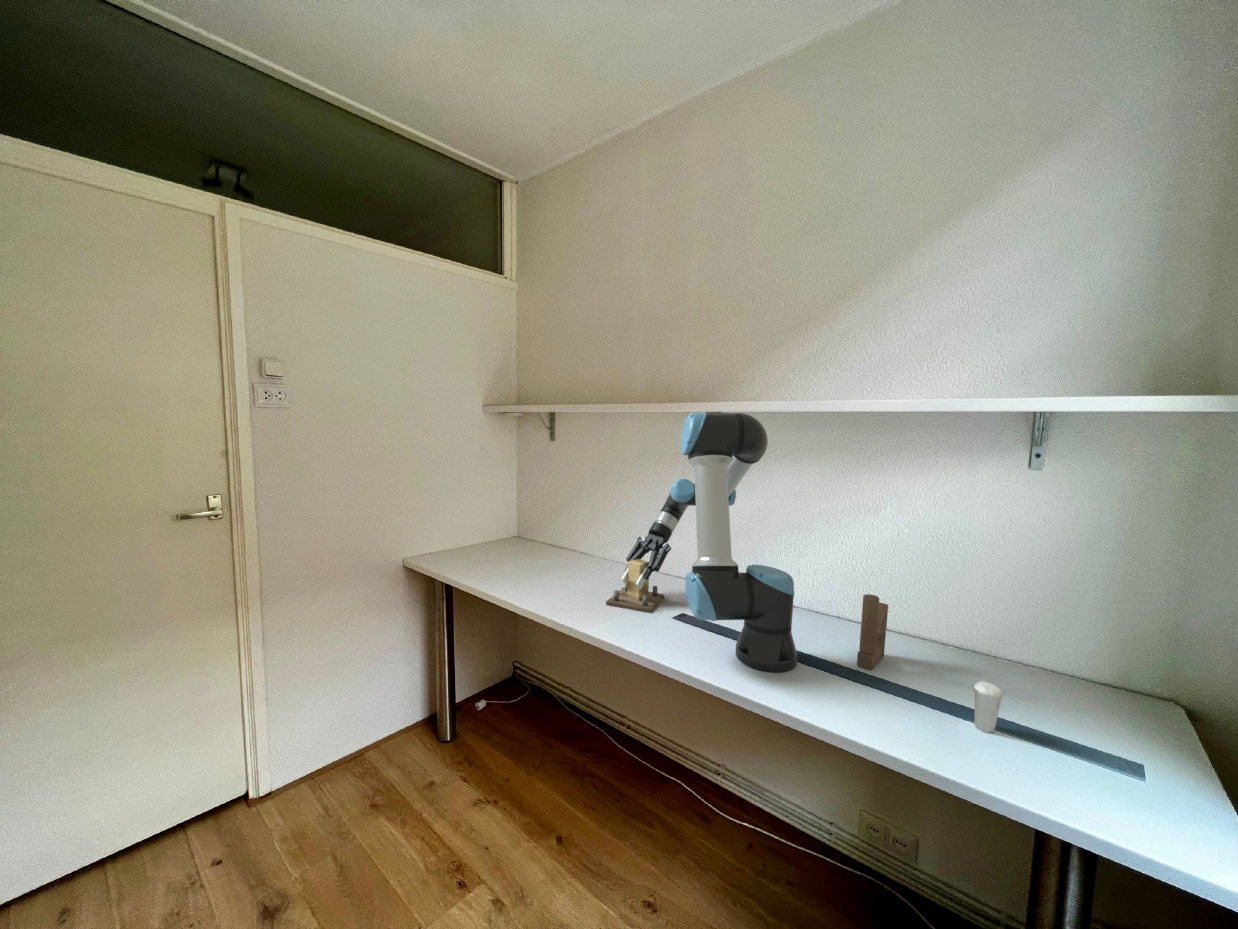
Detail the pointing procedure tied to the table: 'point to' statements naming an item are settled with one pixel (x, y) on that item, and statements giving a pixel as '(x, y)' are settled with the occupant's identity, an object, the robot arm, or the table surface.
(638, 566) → the oak post
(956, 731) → the table surface
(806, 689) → the table surface
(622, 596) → the peg plate
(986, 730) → the milkshake
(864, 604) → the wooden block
